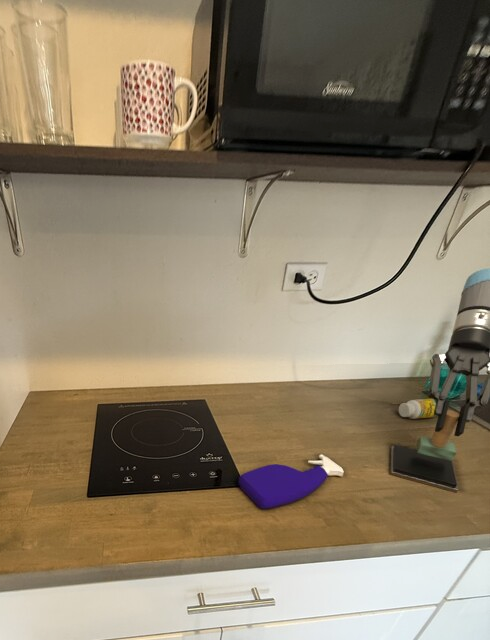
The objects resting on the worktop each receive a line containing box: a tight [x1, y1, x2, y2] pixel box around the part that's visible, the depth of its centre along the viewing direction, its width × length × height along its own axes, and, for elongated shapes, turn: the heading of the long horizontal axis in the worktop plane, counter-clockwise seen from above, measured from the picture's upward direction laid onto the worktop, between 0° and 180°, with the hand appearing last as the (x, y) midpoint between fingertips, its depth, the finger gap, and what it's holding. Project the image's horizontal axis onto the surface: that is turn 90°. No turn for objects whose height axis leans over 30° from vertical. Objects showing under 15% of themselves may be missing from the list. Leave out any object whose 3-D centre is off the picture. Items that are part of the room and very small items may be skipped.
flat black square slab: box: [389, 444, 459, 494], centre depth 90 cm, size 13×12×2 cm
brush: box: [416, 409, 460, 462], centre depth 87 cm, size 7×4×10 cm, turn 63°
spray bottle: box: [238, 453, 344, 510], centre depth 84 cm, size 3×11×24 cm
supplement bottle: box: [398, 398, 437, 420], centre depth 110 cm, size 5×5×10 cm
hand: (448, 431), depth 83 cm, fingers closed on brush, 3 cm apart
